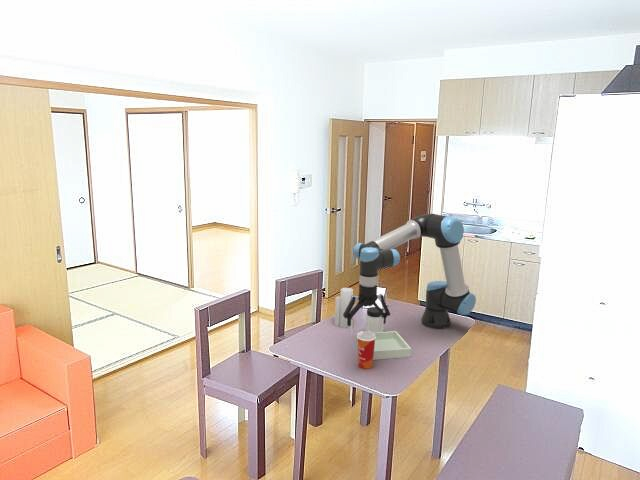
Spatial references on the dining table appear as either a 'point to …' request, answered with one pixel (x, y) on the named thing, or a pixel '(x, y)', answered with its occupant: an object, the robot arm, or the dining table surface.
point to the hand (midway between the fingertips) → (366, 331)
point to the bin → (390, 346)
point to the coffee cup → (366, 349)
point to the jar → (373, 319)
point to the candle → (342, 307)
